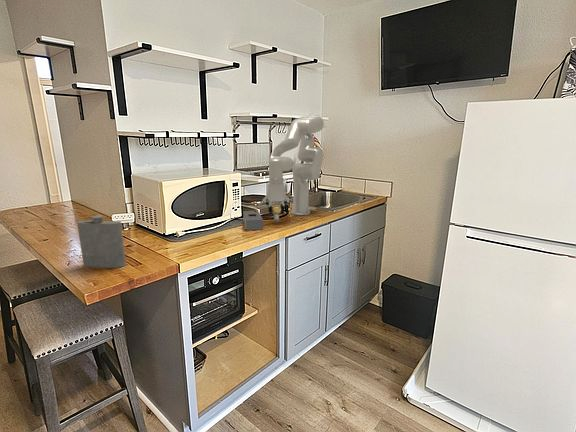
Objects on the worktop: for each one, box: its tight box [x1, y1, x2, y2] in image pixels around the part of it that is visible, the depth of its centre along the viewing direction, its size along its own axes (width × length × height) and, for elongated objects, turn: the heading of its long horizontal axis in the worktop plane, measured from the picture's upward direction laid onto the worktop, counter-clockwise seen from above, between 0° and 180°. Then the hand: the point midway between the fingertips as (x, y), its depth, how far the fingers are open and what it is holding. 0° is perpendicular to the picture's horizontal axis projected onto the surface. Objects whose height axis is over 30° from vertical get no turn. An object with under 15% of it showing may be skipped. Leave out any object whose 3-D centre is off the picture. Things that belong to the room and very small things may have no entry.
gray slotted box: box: [242, 210, 264, 231], centre depth 184 cm, size 9×20×6 cm, turn 12°
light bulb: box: [271, 204, 283, 222], centre depth 186 cm, size 6×6×8 cm
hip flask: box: [76, 214, 127, 269], centre depth 125 cm, size 16×4×20 cm, turn 89°
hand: (276, 212), depth 186 cm, fingers closed on light bulb, 6 cm apart
